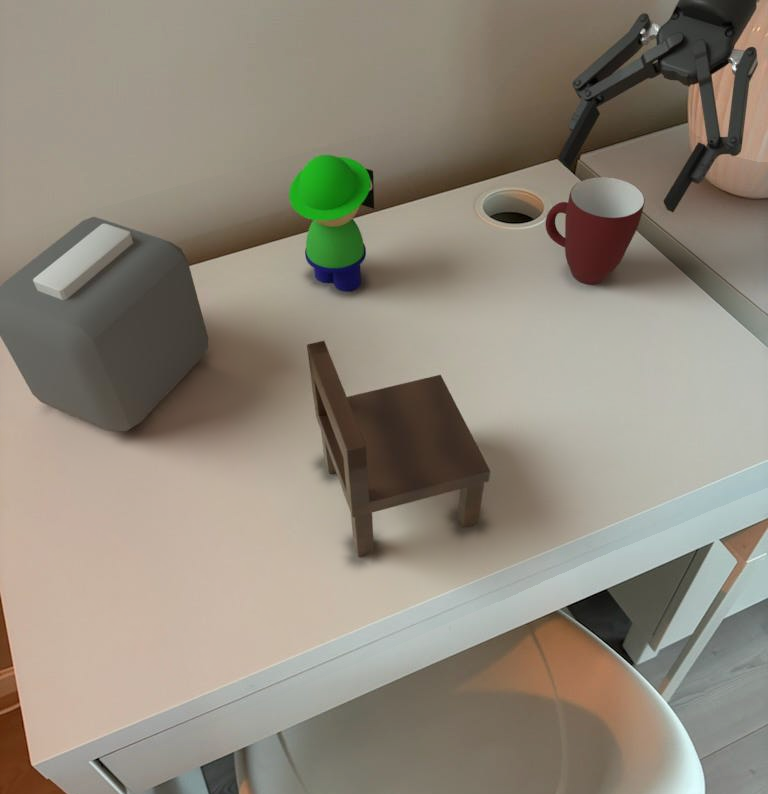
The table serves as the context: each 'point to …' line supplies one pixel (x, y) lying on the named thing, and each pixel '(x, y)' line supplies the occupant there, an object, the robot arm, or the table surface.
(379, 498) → the chair
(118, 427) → the alarm clock
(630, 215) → the mug
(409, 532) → the table surface
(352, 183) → the toy
